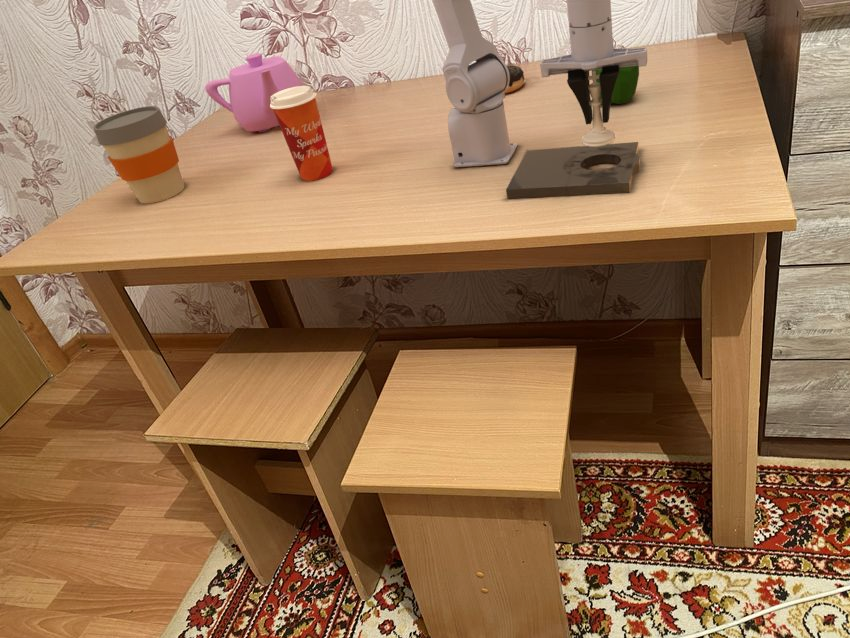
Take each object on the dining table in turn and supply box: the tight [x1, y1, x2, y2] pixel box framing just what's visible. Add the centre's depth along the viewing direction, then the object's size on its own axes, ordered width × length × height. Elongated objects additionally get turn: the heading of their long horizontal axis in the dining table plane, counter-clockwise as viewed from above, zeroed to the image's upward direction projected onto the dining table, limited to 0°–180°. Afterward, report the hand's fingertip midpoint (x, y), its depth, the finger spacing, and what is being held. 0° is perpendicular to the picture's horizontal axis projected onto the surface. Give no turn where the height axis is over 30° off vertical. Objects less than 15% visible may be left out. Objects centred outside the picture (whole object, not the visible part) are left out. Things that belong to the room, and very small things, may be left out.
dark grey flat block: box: [505, 141, 641, 200], centre depth 106 cm, size 19×15×2 cm
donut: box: [504, 64, 526, 94], centre depth 149 cm, size 11×12×4 cm
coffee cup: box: [270, 85, 334, 182], centre depth 124 cm, size 8×8×15 cm
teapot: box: [204, 52, 304, 133], centre depth 155 cm, size 23×21×15 cm
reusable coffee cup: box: [92, 105, 185, 204], centre depth 132 cm, size 13×13×15 cm
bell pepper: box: [593, 65, 640, 105], centre depth 127 cm, size 8×8×10 cm
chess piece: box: [581, 70, 617, 147], centre depth 100 cm, size 5×5×10 cm
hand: (597, 121), depth 101 cm, fingers closed on chess piece
